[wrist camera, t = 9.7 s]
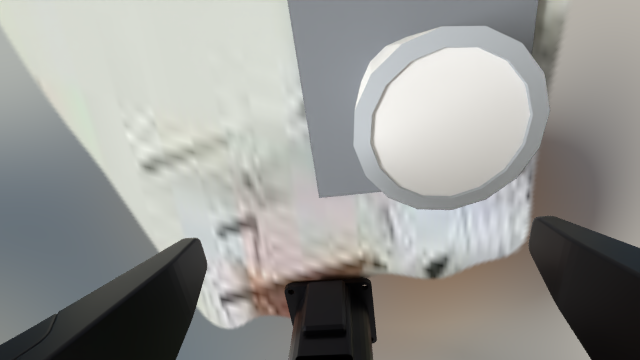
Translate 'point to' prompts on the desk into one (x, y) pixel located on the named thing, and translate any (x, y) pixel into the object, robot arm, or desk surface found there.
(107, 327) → the robot arm
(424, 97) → the white faceted cylinder
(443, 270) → the desk surface
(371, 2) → the coaster mat
